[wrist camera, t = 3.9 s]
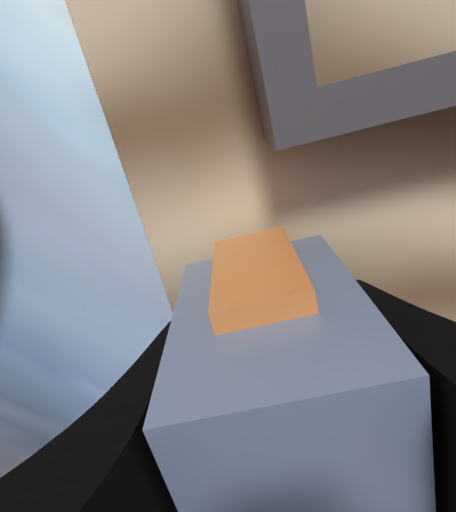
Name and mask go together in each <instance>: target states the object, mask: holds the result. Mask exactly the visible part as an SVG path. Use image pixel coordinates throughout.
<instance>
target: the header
mask: <svg viewBox="0 0 456 512" xmlns="http://www.w3.org/2000/svg"><path fill="white" fill-rule="evenodd" d="M237 4H238V9H239V14H240V19H241V24H242V29H243V34H244V39H245V44H246V49H247V54H248V59H249V64H250V69H251V74H252V79H253V84H254V90H255V95H256V100H257V105H258V110H259V115H260V120H261V125H262V130H263V135H264V140H265V142H266V143H267V144H269V145H270V146H271V147H273V148H274V149H275V150H276V151H278V150H282V149H286V148H290V147H294V146H298V145H302V144H306V143H310V142H314V141H318V140H322V139H326V138H330V137H334V136H338V135H342V134H346V133H350V132H353V131H357V130H361V129H365V128H369V127H373V126H377V125H381V124H385V123H389V122H393V121H397V120H401V119H405V118H409V117H413V116H417V115H421V114H425V113H429V112H433V111H437V110H441V109H445V108H449V107H453V106H456V51H452V52H448V53H444V54H441V55H437V56H433V57H429V58H425V59H422V60H418V61H414V62H410V63H406V64H403V65H399V66H395V67H391V68H387V69H384V70H380V71H376V72H372V73H369V74H365V75H361V76H357V77H353V78H350V79H346V80H342V81H338V82H334V83H331V84H327V85H323V86H319V87H317V84H316V77H315V69H314V62H313V55H312V48H311V41H310V34H309V26H308V19H307V12H306V5H305V0H237Z"/></svg>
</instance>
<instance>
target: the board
mask: <svg viewBox="0 0 456 512" xmlns="http://www.w3.org/2000/svg"><path fill="white" fill-rule="evenodd" d="M65 2H66V5H67V8H68V11H69V13H70V16H71V19H72V22H73V25H74V28H75V31H76V34H77V37H78V39H79V42H80V45H81V48H82V51H83V54H84V57H85V60H86V63H87V65H88V68H89V71H90V74H91V77H92V80H93V83H94V86H95V89H96V91H97V94H98V97H99V100H100V103H101V106H102V109H103V112H104V115H105V117H106V120H107V123H108V126H109V129H110V132H111V135H112V138H113V141H114V143H115V146H116V149H117V152H118V155H119V158H120V161H121V164H122V167H123V169H124V172H125V175H126V178H127V181H128V184H129V187H130V190H131V193H132V195H133V198H134V201H135V204H136V207H137V210H138V213H139V216H140V219H141V221H142V224H143V227H144V230H145V233H146V236H147V239H148V242H149V245H150V247H151V250H152V253H153V256H154V259H155V262H156V265H157V268H158V271H159V273H160V276H161V279H162V282H163V285H164V288H165V291H166V294H167V297H168V300H169V302H170V305H171V308H172V311H173V312H174V308H175V304H176V301H177V297H178V293H179V289H180V285H181V282H182V278H183V274H184V270H185V267H186V265H189V264H193V263H197V262H202V261H206V260H211V259H213V253H214V242H217V241H221V240H225V239H229V238H234V237H238V236H242V235H247V234H251V233H255V232H260V231H264V230H268V229H273V228H277V227H281V226H283V227H284V229H285V231H286V233H287V235H288V237H289V240H290V241H294V240H298V239H303V238H307V237H311V236H316V235H321V236H322V237H323V238H324V240H325V241H326V242H327V244H328V245H329V246H330V247H331V249H332V250H333V251H334V253H335V254H336V255H337V257H338V258H339V259H340V260H341V262H342V263H343V264H344V266H345V267H346V268H347V269H348V271H349V272H350V273H351V275H352V276H353V277H354V279H355V280H358V279H359V280H361V281H364V282H366V283H368V284H370V285H372V286H374V287H377V288H379V289H381V290H383V291H385V292H387V293H389V294H391V295H393V296H395V297H397V298H400V299H402V300H404V301H406V302H408V303H411V304H413V305H415V306H417V307H420V308H422V309H424V310H427V311H429V312H432V313H434V314H437V315H439V316H442V317H445V318H447V319H450V320H452V321H455V322H456V106H453V107H449V108H445V109H441V110H437V111H433V112H429V113H425V114H421V115H417V116H413V117H409V118H405V119H401V120H397V121H393V122H389V123H385V124H381V125H377V126H373V127H369V128H365V129H361V130H357V131H353V132H350V133H346V134H342V135H338V136H334V137H330V138H326V139H322V140H318V141H314V142H310V143H306V144H302V145H298V146H294V147H290V148H286V149H282V150H278V151H276V150H275V149H274V148H273V147H271V146H270V145H269V144H267V143H266V142H265V140H264V135H263V130H262V125H261V120H260V115H259V110H258V105H257V100H256V95H255V90H254V84H253V79H252V74H251V69H250V64H249V59H248V54H247V49H246V44H245V39H244V34H243V29H242V24H241V19H240V14H239V9H238V4H237V0H65ZM305 5H306V12H307V19H308V26H309V34H310V41H311V48H312V55H313V62H314V69H315V77H316V84H317V87H319V86H323V85H327V84H331V83H334V82H338V81H342V80H346V79H350V78H353V77H357V76H361V75H365V74H369V73H372V72H376V71H380V70H384V69H387V68H391V67H395V66H399V65H403V64H406V63H410V62H414V61H418V60H422V59H425V58H429V57H433V56H437V55H441V54H444V53H448V52H452V51H456V0H305Z"/></svg>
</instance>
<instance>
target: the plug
mask: <svg viewBox="0 0 456 512" xmlns="http://www.w3.org/2000/svg"><path fill="white" fill-rule="evenodd" d="M142 431H143V433H144V435H145V437H146V440H147V442H148V444H149V447H150V449H151V451H152V453H153V456H154V458H155V460H156V463H157V465H158V467H159V469H160V472H161V474H162V476H163V479H164V481H165V483H166V485H167V488H168V490H169V492H170V495H171V497H172V499H173V501H174V504H175V506H176V508H177V511H178V512H436V502H435V481H434V461H433V441H432V421H431V400H430V380H429V374H428V373H427V372H426V370H425V369H424V368H423V367H422V365H421V364H420V363H419V361H418V360H417V359H416V358H415V356H414V355H413V354H412V352H411V351H410V350H409V348H408V347H407V346H406V345H405V343H404V342H403V341H402V339H401V338H400V337H399V336H398V334H397V333H396V332H395V330H394V329H393V328H392V326H391V325H390V324H389V323H388V321H387V320H386V319H385V317H384V316H383V315H382V314H381V312H380V311H379V310H378V308H377V307H376V306H375V304H374V303H373V302H372V301H371V299H370V298H369V297H368V295H367V294H366V293H365V291H364V290H363V289H362V288H361V286H360V285H359V284H358V282H357V281H356V280H355V279H354V277H353V276H352V275H351V273H350V272H349V271H348V269H347V268H346V267H345V266H344V264H343V263H342V262H341V260H340V259H339V258H338V257H337V255H336V254H335V253H334V251H333V250H332V249H331V247H330V246H329V245H328V244H327V242H326V241H325V240H324V238H323V237H322V236H321V235H316V236H311V237H307V238H303V239H298V240H294V241H290V240H289V237H288V235H287V233H286V231H285V229H284V227H283V226H281V227H277V228H273V229H268V230H264V231H260V232H255V233H251V234H247V235H242V236H238V237H234V238H229V239H225V240H221V241H217V242H214V253H213V259H211V260H206V261H202V262H197V263H193V264H189V265H186V267H185V270H184V274H183V278H182V282H181V285H180V289H179V293H178V297H177V301H176V304H175V308H174V312H173V316H172V320H171V323H170V327H169V331H168V335H167V339H166V342H165V346H164V350H163V354H162V358H161V361H160V365H159V369H158V373H157V377H156V380H155V384H154V388H153V392H152V396H151V399H150V403H149V407H148V411H147V415H146V418H145V422H144V426H143V430H142Z"/></svg>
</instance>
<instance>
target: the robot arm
mask: <svg viewBox="0 0 456 512" xmlns="http://www.w3.org/2000/svg"><path fill="white" fill-rule="evenodd" d="M356 281H357V282H358V284H359V285H360V286H361V288H362V289H363V290H364V291H365V293H366V294H367V295H368V297H369V298H370V299H371V301H372V302H373V303H374V304H375V306H376V307H377V308H378V310H379V311H380V312H381V314H382V315H383V316H384V317H385V319H386V320H387V321H388V323H389V324H390V325H391V326H392V328H393V329H394V330H395V332H396V333H397V334H398V336H399V337H400V338H401V339H402V341H403V342H404V343H405V345H406V346H407V347H408V348H409V350H410V351H411V352H412V354H413V355H414V356H415V358H416V359H417V360H418V361H419V363H420V364H421V365H422V367H423V368H424V369H425V370H426V372H427V373H428V374H429V380H430V400H431V421H432V441H433V461H434V481H435V502H436V512H456V322H455V321H452V320H450V319H447V318H445V317H442V316H439V315H437V314H434V313H432V312H429V311H427V310H424V309H422V308H420V307H417V306H415V305H413V304H411V303H408V302H406V301H404V300H402V299H400V298H397V297H395V296H393V295H391V294H389V293H387V292H385V291H383V290H381V289H379V288H377V287H374V286H372V285H370V284H368V283H366V282H364V281H361V280H359V279H358V280H356ZM170 323H171V321H170V322H169V323H168V324H167V325H166V327H165V328H164V329H163V330H162V331H161V332H160V334H159V335H158V336H157V337H156V338H155V340H154V341H153V342H152V343H151V344H150V345H149V347H148V348H147V349H146V350H145V351H144V352H143V354H142V355H141V356H140V357H139V358H138V359H137V361H136V362H135V363H134V364H133V365H132V366H131V367H130V368H129V369H128V370H127V372H126V373H125V374H124V375H123V376H122V377H121V378H120V379H119V380H118V381H117V382H116V383H115V384H114V385H113V386H112V387H111V389H110V390H109V391H108V392H107V393H106V394H105V395H104V396H103V397H102V398H100V399H99V400H98V401H97V402H96V403H95V404H94V405H93V406H92V407H91V408H90V409H89V410H87V411H86V412H85V413H84V414H83V415H82V416H81V417H80V418H78V419H77V420H76V421H75V422H74V423H73V424H71V425H70V426H69V427H68V428H67V429H65V430H64V431H63V432H61V433H60V434H59V435H58V436H56V437H55V438H54V439H53V440H51V441H50V442H49V443H47V444H46V445H45V446H44V447H42V448H41V449H40V450H39V451H37V452H36V453H35V454H33V455H32V456H31V457H29V458H28V459H27V460H25V461H24V462H22V463H21V464H20V465H18V466H17V467H15V468H14V469H13V470H11V471H10V472H8V473H7V474H5V475H4V476H3V477H1V478H0V512H178V511H177V508H176V506H175V504H174V501H173V499H172V497H171V495H170V492H169V490H168V488H167V485H166V483H165V481H164V479H163V476H162V474H161V472H160V469H159V467H158V465H157V463H156V460H155V458H154V456H153V453H152V451H151V449H150V447H149V444H148V442H147V440H146V437H145V435H144V433H143V431H142V430H143V426H144V422H145V418H146V415H147V411H148V407H149V403H150V399H151V396H152V392H153V388H154V384H155V380H156V377H157V373H158V369H159V365H160V361H161V358H162V354H163V350H164V346H165V342H166V339H167V335H168V331H169V327H170Z"/></svg>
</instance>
